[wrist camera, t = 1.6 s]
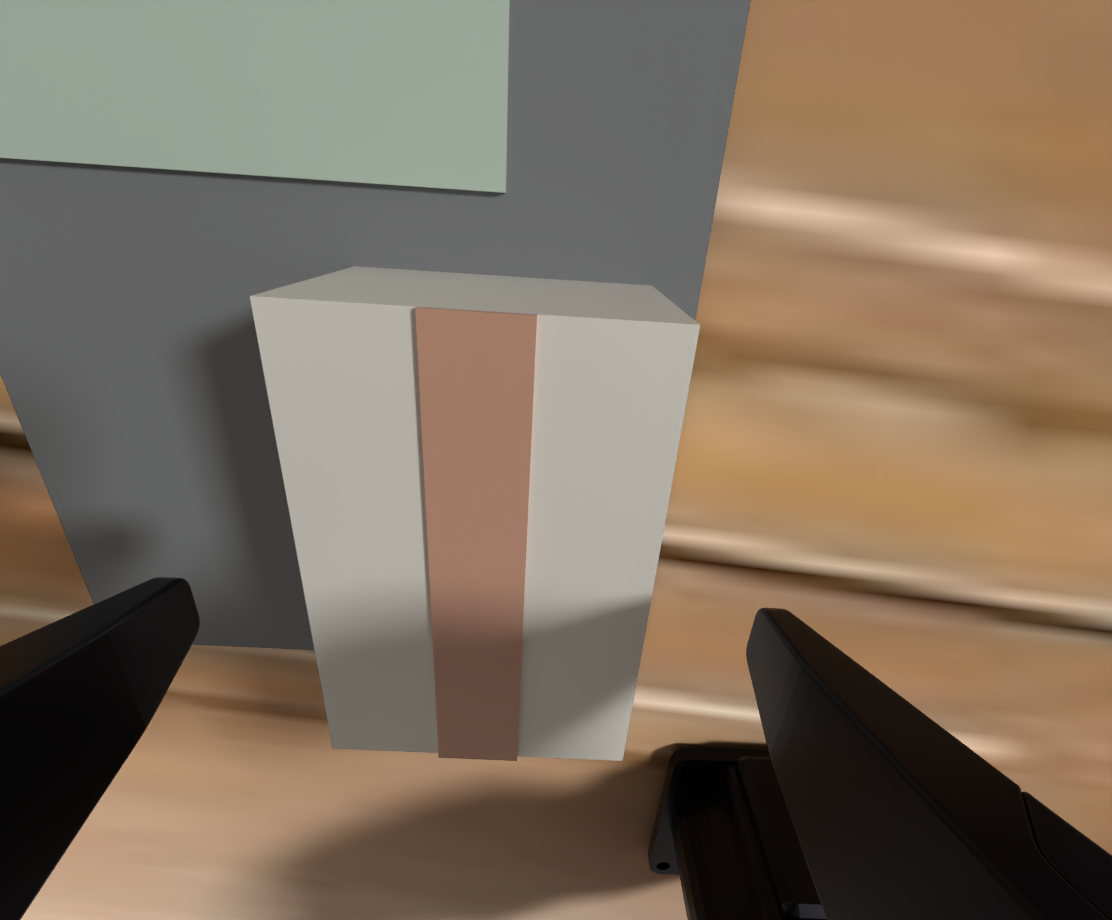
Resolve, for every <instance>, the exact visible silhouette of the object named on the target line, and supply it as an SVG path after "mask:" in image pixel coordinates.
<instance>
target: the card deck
mask: <svg viewBox="0 0 1112 920" xmlns="http://www.w3.org/2000/svg"><path fill="white" fill-rule="evenodd" d="M250 301H251V306H252V312H253V317H254V323H255V328H256V334H257V339H258V345H259V350H260V355H261V361H262V366H263V372H264V377H265V383H266V388H267V394H268V399H269V404H270V410H271V415H272V421H273V426H274V432H275V437H276V443H277V448H278V454H279V459H280V464H281V470H282V475H283V481H284V486H285V492H286V497H287V503H288V508H289V513H290V519H291V524H292V530H293V535H294V541H295V546H296V552H297V557H298V563H299V568H300V573H301V579H302V584H303V590H304V595H305V601H306V606H307V612H308V617H309V622H310V628H311V633H312V639H313V644H314V650H315V655H316V661H317V666H318V671H319V677H320V682H321V688H322V693H323V699H324V704H325V710H326V715H327V721H328V726H329V731H330V737H331V742H332V748H336V749H359V750H382V751H406V752H429V753H439V758H462V759H486V760H509V761H517V756H523V757H546V758H570V759H593V760H616V761H623V755H624V749H625V744H626V738H627V733H628V727H629V721H630V716H631V710H632V705H633V699H634V693H635V688H636V682H637V677H638V671H639V665H640V660H641V654H642V649H643V643H644V637H645V632H646V626H647V620H648V615H649V609H650V604H651V598H652V592H653V587H654V581H655V576H656V570H657V564H658V559H659V553H660V548H661V542H662V536H663V531H664V525H665V520H666V514H667V508H668V503H669V497H670V492H671V486H672V480H673V475H674V469H675V463H676V458H677V452H678V447H679V441H680V435H681V430H682V424H683V419H684V413H685V407H686V402H687V396H688V391H689V385H690V379H691V374H692V368H693V363H694V357H695V351H696V346H697V340H698V334H699V329H700V324H699V323H697V322H696V321H695V320H694V319H692V318H691V317H690V316H689V315H688V314H686V313H685V312H684V311H683V310H681V309H680V308H679V307H678V306H676V305H675V304H674V303H673V302H672V301H670V300H669V299H668V298H667V297H665V296H664V295H663V294H662V293H660V292H659V291H658V290H657V289H655V288H654V287H653V286H650V285H635V284H620V283H604V282H589V281H574V280H558V279H543V278H528V277H512V276H497V275H482V274H467V273H451V272H436V271H421V270H405V269H390V268H375V267H359V266H354V267H350V268H347V269H343V270H340V271H336V272H333V273H329V274H326V275H322V276H319V277H315V278H312V279H308V280H305V281H301V282H298V283H294V284H291V285H287V286H283V287H280V288H276V289H273V290H269V291H266V292H262V293H259V294H255V295H252V296H250Z"/></svg>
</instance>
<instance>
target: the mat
mask: <svg viewBox="0 0 1112 920" xmlns="http://www.w3.org/2000/svg"><path fill="white" fill-rule="evenodd" d="M750 2H751V0H0V374H1V377H2V379H3V381H4V384H5V386H6V389H7V391H8V394H9V396H10V399H11V401H12V404H13V406H14V409H15V411H16V413H17V416H18V418H19V421H20V423H21V426H22V428H23V431H24V433H25V436H26V438H27V441H28V443H29V445H30V448H31V450H32V453H33V455H34V458H35V460H36V463H37V465H38V468H39V470H40V473H41V475H42V477H43V480H44V482H45V485H46V487H47V490H48V492H49V495H50V497H51V500H52V502H53V504H54V507H55V509H56V512H57V514H58V517H59V519H60V522H61V524H62V527H63V529H64V532H65V534H66V536H67V539H68V541H69V544H70V546H71V549H72V551H73V554H74V556H75V559H76V561H77V564H78V566H79V568H80V571H81V573H82V576H83V578H84V581H85V583H86V586H87V588H88V591H89V593H90V596H91V598H92V600H93V603H94V604H96V603H98V602H101V601H103V600H105V599H107V598H110V597H112V596H114V595H116V594H119V593H121V592H123V591H125V590H128V589H130V588H132V587H134V586H137V585H139V584H141V583H143V582H146V581H148V580H150V579H153V578H156V577H172V578H182V579H185V580H186V581H187V582H188V583H189V585H190V587H191V590H192V594H193V597H194V601H195V604H196V607H197V611H198V614H199V618H200V626H199V630H198V633H197V636H196V638H195V639H194V641H193V643H192V644H197V645H218V646H239V647H260V648H281V649H302V650H314V644H313V639H312V633H311V628H310V622H309V617H308V612H307V606H306V601H305V595H304V590H303V584H302V579H301V573H300V568H299V563H298V557H297V552H296V546H295V541H294V535H293V530H292V524H291V519H290V513H289V508H288V503H287V497H286V492H285V486H284V481H283V475H282V470H281V464H280V459H279V454H278V448H277V443H276V437H275V432H274V426H273V421H272V415H271V410H270V404H269V399H268V394H267V388H266V383H265V377H264V372H263V366H262V361H261V355H260V350H259V345H258V339H257V334H256V328H255V323H254V317H253V312H252V306H251V301H250V296H252V295H255V294H259V293H262V292H266V291H269V290H273V289H276V288H280V287H283V286H287V285H291V284H294V283H298V282H301V281H305V280H308V279H312V278H315V277H319V276H322V275H326V274H329V273H333V272H336V271H340V270H343V269H347V268H350V267H354V266H359V267H375V268H390V269H405V270H421V271H436V272H451V273H467V274H482V275H497V276H512V277H528V278H543V279H558V280H574V281H589V282H604V283H620V284H635V285H650V286H653V287H654V288H655V289H657V290H658V291H659V292H660V293H662V294H663V295H664V296H665V297H667V298H668V299H669V300H670V301H672V302H673V303H674V304H675V305H676V306H678V307H679V308H680V309H681V310H683V311H684V312H685V313H686V314H688V315H689V316H690V317H691V318H692V319H694V320H695V318H696V313H697V307H698V301H699V295H700V290H701V284H702V278H703V272H704V267H705V261H706V255H707V249H708V243H709V238H710V232H711V226H712V220H713V215H714V209H715V203H716V197H717V192H718V186H719V180H720V174H721V169H722V163H723V157H724V151H725V146H726V140H727V134H728V128H729V122H730V117H731V111H732V105H733V99H734V94H735V88H736V82H737V76H738V71H739V65H740V59H741V53H742V48H743V42H744V36H745V30H746V25H747V19H748V13H749V7H750Z"/></svg>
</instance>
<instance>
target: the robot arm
mask: <svg viewBox="0 0 1112 920" xmlns="http://www.w3.org/2000/svg"><path fill="white" fill-rule="evenodd" d="M199 626H200V618H199V614H198V611H197V607H196V604H195V601H194V597H193V594H192V590H191V587H190V585H189V583H188V582H187V581H186V580H185V579H182V578H172V577H156V578H153V579H150V580H148V581H146V582H143V583H141V584H139V585H137V586H134V587H132V588H130V589H128V590H125V591H123V592H121V593H119V594H116V595H114V596H112V597H110V598H107V599H105V600H103V601H101V602H98V603H96V604H94V605H92V606H89V607H87V608H85V609H83V610H81V611H78V612H76V613H74V614H72V615H69V616H67V617H65V618H63V619H60V620H58V621H56V622H54V623H51V624H49V625H47V626H45V627H42V628H40V629H38V630H36V631H33V632H31V633H29V634H27V635H24V636H22V637H20V638H18V639H16V640H13V641H11V642H9V643H7V644H4V645H2V646H0V920H20V919H21V918H22V916H23V915H24V913H25V912H26V910H27V909H28V907H29V906H30V904H31V903H32V901H33V900H34V898H35V897H36V895H37V894H38V892H39V891H40V889H41V888H42V886H43V885H44V883H45V882H46V880H47V879H48V877H49V876H50V874H51V873H52V871H53V870H54V868H55V866H56V865H57V863H58V862H59V860H60V859H61V857H62V856H63V854H64V853H65V851H66V850H67V848H68V847H69V845H70V844H71V842H72V841H73V839H74V838H75V836H76V835H77V833H78V832H79V830H80V829H81V827H82V826H83V824H84V823H85V821H86V820H87V818H88V817H89V815H90V814H91V812H92V811H93V809H94V807H95V806H96V804H97V803H98V801H99V800H100V798H101V797H102V795H103V794H104V792H105V791H106V789H107V788H108V786H109V785H110V783H111V782H112V780H113V779H114V777H115V776H116V774H117V773H118V771H119V770H120V768H121V767H122V765H123V764H124V762H125V761H126V759H127V758H128V756H129V755H130V753H131V752H132V750H133V748H134V747H135V745H136V744H137V742H138V741H139V739H140V738H141V736H142V734H143V733H144V731H145V730H146V728H147V726H148V724H149V723H150V721H151V719H152V717H153V716H154V714H155V712H156V710H157V709H158V707H159V705H160V703H161V701H162V699H163V697H164V695H165V694H166V692H167V690H168V688H169V686H170V684H171V682H172V681H173V679H174V677H175V675H176V673H177V671H178V669H179V667H180V666H181V664H182V662H183V660H184V658H185V656H186V654H187V653H188V651H189V649H190V647H191V645H192V643H193V641H194V639H195V638H196V636H197V633H198V630H199ZM746 656H747V663H748V667H749V671H750V676H751V680H752V684H753V688H754V692H755V697H756V701H757V705H758V709H759V714H760V718H761V722H762V726H763V730H764V735H765V739H766V743H767V747H768V750H769V751H748V750H725V749H702V748H682V749H680V750H677V751H676V752H674V753H673V754H672V756H671V759H670V763H669V767H668V772H667V776H666V780H665V784H664V788H663V793H662V797H661V801H660V805H659V809H658V814H657V818H656V822H655V826H654V830H653V835H652V839H651V843H650V847H649V851H648V858H649V865H650V869H651V870H652V871H653V872H655V873H659V874H679V875H680V880H681V886H682V891H683V896H684V902H685V907H686V913H687V918H688V920H1112V855H1111V854H1109V853H1108V852H1106V851H1105V850H1104V849H1102V848H1101V847H1100V846H1098V845H1097V844H1096V843H1094V842H1093V841H1092V840H1090V839H1089V838H1088V837H1086V836H1085V835H1084V834H1082V833H1081V832H1079V831H1078V830H1077V829H1075V828H1074V827H1073V826H1071V825H1070V824H1069V823H1067V822H1066V821H1065V820H1063V819H1062V818H1061V817H1059V816H1058V815H1057V814H1055V813H1054V812H1053V811H1051V810H1050V809H1049V808H1047V807H1046V806H1045V805H1043V804H1042V803H1041V802H1040V801H1038V800H1037V799H1036V798H1034V797H1033V796H1032V795H1030V794H1029V793H1027V792H1021V789H1020V787H1019V786H1018V785H1017V784H1016V783H1014V782H1013V781H1012V780H1010V779H1009V778H1008V777H1006V776H1005V775H1004V774H1002V773H1001V772H1000V771H999V770H997V769H996V768H995V767H993V766H992V765H991V764H989V763H988V762H987V761H985V760H984V759H983V758H981V757H980V756H979V755H977V754H976V753H975V752H974V751H972V750H971V749H970V748H968V747H967V746H966V745H964V744H963V743H962V742H960V741H959V740H958V739H956V738H955V737H954V736H952V735H951V734H950V733H949V732H947V731H946V730H945V729H943V728H942V727H941V726H939V725H938V724H937V723H935V722H934V721H933V720H931V719H930V718H929V717H927V716H926V715H925V714H924V713H922V712H921V711H920V710H918V709H917V708H916V707H914V706H913V705H912V704H910V703H909V702H908V701H906V700H905V699H904V698H902V697H901V696H900V695H899V694H897V693H896V692H895V691H893V690H892V689H891V688H889V687H888V686H887V685H885V684H884V683H883V682H881V681H880V680H879V679H877V678H876V677H875V676H874V675H872V674H871V673H870V672H868V671H867V670H866V669H864V668H863V667H862V666H860V665H859V664H858V663H856V662H855V661H854V660H853V659H851V658H850V657H849V656H847V655H846V654H845V653H843V652H842V651H841V650H839V649H838V648H837V647H835V646H834V645H833V644H831V643H830V642H829V641H828V640H826V639H825V638H824V637H822V636H821V635H820V634H818V633H817V632H816V631H814V630H813V629H812V628H810V627H809V626H808V625H806V624H805V623H804V622H803V621H801V620H800V619H799V618H797V617H796V616H795V615H793V614H792V613H791V612H789V611H788V610H785V609H778V608H762V609H760V610H758V612H757V614H756V616H755V620H754V623H753V627H752V630H751V633H750V637H749V640H748V644H747V650H746Z"/></svg>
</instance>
